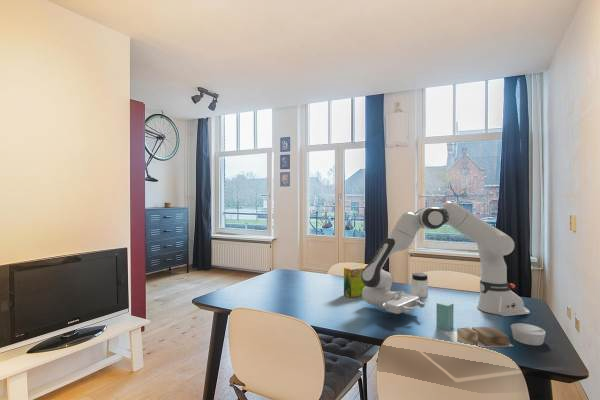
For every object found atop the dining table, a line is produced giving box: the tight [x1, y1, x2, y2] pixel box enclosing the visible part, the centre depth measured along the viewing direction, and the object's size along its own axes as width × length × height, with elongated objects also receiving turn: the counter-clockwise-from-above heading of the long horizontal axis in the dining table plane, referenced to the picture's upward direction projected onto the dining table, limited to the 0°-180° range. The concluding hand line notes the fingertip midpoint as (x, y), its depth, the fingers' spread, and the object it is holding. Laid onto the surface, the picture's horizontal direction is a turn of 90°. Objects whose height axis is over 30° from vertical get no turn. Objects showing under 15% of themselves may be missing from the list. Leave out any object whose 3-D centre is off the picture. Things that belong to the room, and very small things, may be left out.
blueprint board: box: [443, 331, 514, 348], centre depth 133 cm, size 20×14×1 cm
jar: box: [411, 272, 429, 299], centre depth 191 cm, size 9×8×12 cm
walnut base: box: [471, 326, 510, 347], centre depth 131 cm, size 9×9×4 cm
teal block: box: [435, 300, 454, 331], centre depth 144 cm, size 5×5×11 cm
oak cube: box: [456, 326, 478, 346], centre depth 128 cm, size 5×5×5 cm
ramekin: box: [510, 322, 546, 346], centre depth 131 cm, size 11×11×5 cm
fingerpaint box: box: [343, 264, 368, 298], centre depth 195 cm, size 19×7×16 cm, turn 122°
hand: (418, 307), depth 153 cm, fingers open, 8 cm apart
